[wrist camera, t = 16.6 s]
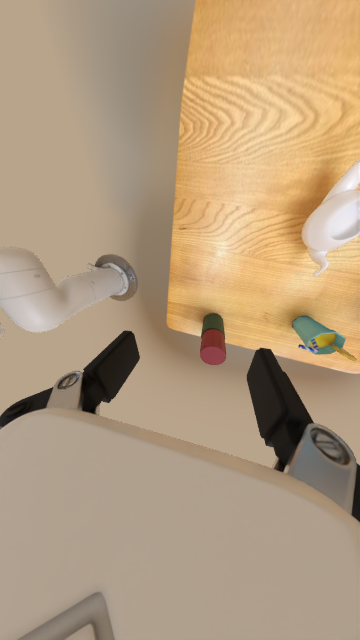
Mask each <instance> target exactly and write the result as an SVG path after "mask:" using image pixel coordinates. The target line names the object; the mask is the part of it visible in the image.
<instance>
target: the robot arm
mask: <svg viewBox="0 0 360 640" xmlns="http://www.w3.org/2000/svg"><path fill="white" fill-rule="evenodd" d="M87 267H88V268H89V269H91V270H93V271H91V272H87V273H82V274H77V275H73V276H68V277H65V278H63V279H62V280H60V281H59V282H58V283H57V284H56V285H55V284H54V282H53V280H52V279H51V277H50V275H49V274H48V272H47V270H46V269H45V267H44V266H43V264H42V262H41V261H40V259H39V258H38V257H37V256H36V255H35V254H34V253H32V252H31V251H29V250H26V249H23V248H15V247H0V307H1V308H2V310H3V311H4V312H5V313H6V314H7V315H8V316H9V318H10V319H11V320H12V321H13V322H14V323H16V324H17V325H19V326H20V327H21V328H23V329H25V330H28V331H31V332H45V331H49V330H51V329H54V328H56V327H57V326H59V325H61V324H62V323H64V322H65V321H67V320H68V319H69V318H70V317H72V316H73V315H74V314H76V313H78V312H79V311H81V310H83V309H85V308H87V307H89V306H91V305H93V304H95V303H97V302H99V301H101V300H103V299H105V298H107V297H110V296H112V295H123V294H124V293H126V292H127V290H128V288H129V281H128V277H127V275H126V273H125V272H124V271H123V269H122V268H121V267H119V266H118V265H116V264H113V263H106V264H104V265H102V266H101V268H99V267H95V266H94V265H92V264H90V263H88V264H87ZM3 335H4V328H3V326H2V324H1V323H0V339H1V338H2V337H3ZM139 359H140V356H139V352H138V348H137V344H136V340H135V336H134V334H133V333H132V332H131V331H123V332H122V333H121V334H120V335H119V336H118V337H117V338H116V339H115V340H114V341H113V342H112V343H111V344H109V346H107V347H106V348H105V349H104V350H103V351H102V352H101V353H100V354H99V355H98V356H97V357H96V358H95V359H94V360H93V361H92V362H91V363H89V364H88V365H87V366H86V367H85V368H84V369H83V370H84V372H83V373H82V372H80V371H73V372H70V373H67V374H66V375H64V376H63V377H61V378H60V379H59V380H58V381H57V382H56V384H55V385H54V387H52V388H50V389H47V390H45V391H42V392H40V393H37V394H35V395H32V396H30V397H27V398H25V399H22V400H20V401H18V402H16V403H15V404H13V405H12V406H10V407H9V408H8V409H7V410H6V411H5V412H4V413H3V414H2V415H1V416H0V640H360V465H358V464H357V463H356V458H355V456H354V454H353V452H352V450H351V449H350V448H349V446H348V445H347V444H346V443H345V442H344V441H343V440H342V439H341V437H339V436H338V435H337V434H336V433H334V432H333V431H332V430H330V429H328V428H327V427H325V426H323V425H320V424H316V423H314V422H313V420H312V419H311V417H310V415H309V413H308V412H307V410H306V408H305V406H304V404H303V403H302V401H301V399H300V397H299V395H298V394H297V392H296V390H295V388H294V386H293V385H292V383H291V381H290V379H289V377H288V376H287V374H286V373H285V372H283V371H282V369H281V367H280V365H279V364H278V362H277V360H276V358H275V356H274V354H273V352H272V351H271V349H266V348H260V349H259V350H256V352H255V355H254V358H253V360H252V363H251V366H250V369H249V371H248V374H247V382H248V386H249V390H250V394H251V398H252V403H253V407H254V411H255V415H256V419H257V424H258V428H259V432H260V435H261V437H262V438H264V440H265V444H266V446H270V447H274V451H275V454H276V456H277V458H276V460H275V462H274V464H273V466H272V468H269V467H266V466H263V465H260V464H257V463H254V462H251V461H248V460H245V459H241V458H239V457H235V456H233V455H229V454H226V453H223V452H219V451H216V450H213V449H210V448H206V447H203V446H200V445H196V444H193V443H190V442H186V441H183V440H180V439H176V438H173V437H170V436H166V435H163V434H160V433H156V432H153V431H150V430H146V429H143V428H140V427H136V426H133V425H129V424H126V423H123V422H119V421H116V420H112V419H108V418H106V417H102V416H99V406H100V403H101V401H103V402H107V403H109V402H110V401H111V399H113V398H114V397H115V396H116V394H117V393H118V391H119V390H120V388H121V387H122V385H123V384H124V382H125V381H126V379H127V378H128V376H129V375H130V373H131V372H132V370H133V369H134V367H135V366H136V364H137V363H138V361H139Z"/></svg>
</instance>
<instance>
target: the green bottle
mask: <svg viewBox="0 0 360 640" xmlns="http://www.w3.org/2000/svg"><path fill="white" fill-rule="evenodd" d="M210 329H216V330H219V331H221V332H222V334H223V335H224V339H225V334H224V325H223V319H222V317H221V316H220V315H218V314H215V313H212V314H208V315H207V316H206V317H205V318H204V321H203V328H202V334H201V338H202V335H203V334H204V332H205V331H207V330H210Z"/></svg>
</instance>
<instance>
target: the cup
mask: <svg viewBox="0 0 360 640" xmlns="http://www.w3.org/2000/svg"><path fill="white" fill-rule="evenodd" d="M292 327H293V328H294V329H295V331H296V332H297V334H298V335H299V337H300V338H301V339H302V341H303V342H304V344H305V346H304V345H301V344H300V345H299V348H302V349H306V350H309V351H311V352H312V353H314V354H331V353H333V352H335V351H337V352H339V353H340V354H342V355H343V356H345V357H347V358H348V359H350V360H352V361H356V360H357V359H356V358H355V357H354V356H352V355H351V354H349V353H348V352H346V351H345V350H343V349H342V348H343V345H344V342H345V339H346V338H345V337H344V336H342V335H340V334H339V333H337V332H336V331H334V330H330V329H328V328H327V327H325V326H323V325H321V324H320V323H318V322H316V321H315V320H313V319H311V318H310V317H308V316H302V317H298V318H297V319H295V320H294V321H293V326H292Z"/></svg>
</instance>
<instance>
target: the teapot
mask: <svg viewBox="0 0 360 640" xmlns="http://www.w3.org/2000/svg"><path fill="white" fill-rule="evenodd" d="M359 183H360V158H359V159H358V160H357V161H356V162H355V163H354V164H353V165H352V166H351V167H350V168H349V169H348V170H347V172H346V173H345V174H344V175H343V176H342V177H341V178H340V179H339V180H338V182H337V183H336V184H335V185H334V186H333V188H332V189H331V190H330V191H329V193H328V194H327V195H326V197H325V198H324V200H323V201H322V203H321V205H319V206H318V207H317V208H316V209H315V210H314V211H313V212H312V213H311V214H310V216H309V217H308V218H307V220H306V222H305V224H304V226H303V229H302V234H301V236H302V241H303V243H304V245H305V246H306V247H307V251H308V254H309V256H310V258H311V259H312V260H313V261H314V262H315V263H316V264H319V265H321V268H320V269H319V270H317V271H315V272H314V273H313V276H314V277H315V276H317V275H318V274H320V273H321V272H322V271H324V270H325V269H326V268H327V267H328V266H329V262H328V260H327V258H326V255H327V253H328V251H331V250H335V249H338V248H340V247H342V246H344V245H346V244H348V243H349V242H351V241H352V240H354V239H355V238H356V237H358V236H359V235H360V190H356V188H357V187H358V185H359Z"/></svg>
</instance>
